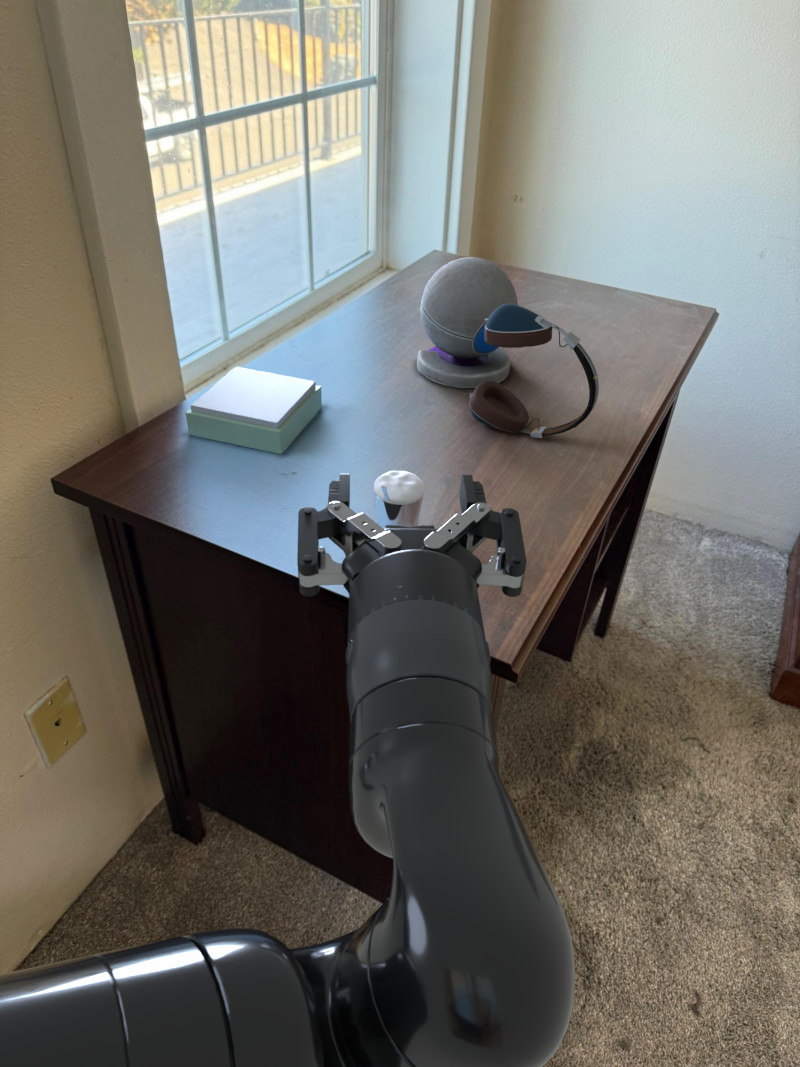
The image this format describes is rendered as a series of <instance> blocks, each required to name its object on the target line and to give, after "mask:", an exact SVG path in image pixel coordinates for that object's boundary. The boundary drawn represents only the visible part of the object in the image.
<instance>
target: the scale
mask: <svg viewBox="0 0 800 1067" xmlns="http://www.w3.org/2000/svg"><path fill="white" fill-rule="evenodd" d="M322 400H323V398H322V386H321V385H317V383H316V380H311V379H305V378H301V377H300V378H299V377H295V376H289V375H284V374H279V373H273V372H267V371H262V370H257V369H252V368H247V367H242V366H234V367H233V368H231V370H230V371H228V372H227V373H226V374H225V375H224V376H222V377H221V378H219V380H218V381H217V382H216V383H214V384H213V385H212V386H211V387H210V388H209V389H207V391H205V392H204V393H203V394H201V395H200V396H199V397H198V398H197V399H196V400H195V401H193V403H191V404H190V408H189V409H188V410H186V411H185V418H186V424H187V433H188V435H189V436H194V437H198V438H203V439H207V440H211V441H212V440H213V441H217V442H221V443H225V444H226V443H227V444H230V445H237V446H241V447H245V448H249V449H255V450H257V451H258V450H259V451H263V452H267V453H268V452H269V453H272V454H277V455H282V454H283V453H284V452H285V451H286V450H287V448H288V447H289V446H290V445H291V444H292V443H293V441H294V440H295V439H296V438H297V437H298V436H299V435H300V433H301V432H302V431H303V430H304V429H305V427H306V426H307V425H308V424H309V423H310V422H311V421H312V419H313V418H314V417H315V416H316V415H317V414H318V413H319V411H320V410H321V409H322V408H323V403H322Z"/></svg>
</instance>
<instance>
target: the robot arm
mask: <svg viewBox="0 0 800 1067" xmlns="http://www.w3.org/2000/svg"><path fill="white" fill-rule="evenodd" d="M327 496H328V500H327V505H326V506H325V508H323V509H321V510H317V509H316V508H315V507H312V506H304V507H302V508H300V509H299V510H298V514H297V515H298V518H297V519H298V520H297V557H296V558H297V559H296V562H297V577H298V589H299V590H298V591H299V593H300V595H301V596H303V597H306V598H310V597H314V596H316V595H318V594H319V592H320V586H341V585H342V586H343V588H344V590H346V592H347V593H348V616H347V618H348V619H347V645H346V649H345V655H344V656H345V658H344V659H345V664H346V678H345V679H346V680H345V682H346V684H345V685H346V697H347V703H348V711H349V723H350V724H349V749H348V750H349V753H348V793H349V805H350V806H349V807H350V813H351V818H352V820H353V824H354V826H355V829H356V831H357V833H358V834H359V835H360V837H361V838H362V840H363V841H364V842H365V843H366V844H367V845H368V846H369V847H370V848H371V849H372V850H374V851H376V852H377V853H379V854H381V855H382V856H385V857H387V858H390V859H392V878H391V879H392V880H391V888H390V895H389V897H388V898H387V899H386V900H385V901H384V902H383V903H382V904H381V906H379V907H378V908H377V909H376V910H375V911H374V912H373V913H372V914H371V915H370V916H369V917H368V919H366V920H365V922H363V923H362V925H360V926H359V927H358V928H356V929H354V930H353V931H350V932H349V933H346V934H343V935H341V936H338V937H336V938H333V939H330V940H327V941H324V942H321V943H317V944H312V945H307V946H302V947H295V948H288V946H287V945H286V944H284V942H282V941H281V940H280V939H278V938H277V937H276V936H274V935H271V934H269V933H268V932H265V931H263V930H261V929H256V928H255V929H254V928H251V927H249V928H247V927H241V928H240V927H239V928H238V927H232V928H231V927H230V928H222V929H214V930H206V931H199V932H196V933H191V934H187V935H186V934H185V935H183V936H180V935H179V936H175V937H171V938H165V939H160V940H156V941H151V942H146V943H141V944H136V945H132V946H131V945H130V946H127V947H123V948H117V949H112V950H109V951H102V952H99V953H94V954H87V955H84V956H78V957H75V958H71V959H70V958H69V959H65V960H61V961H56V962H52V963H47V964H43V965H42V964H41V965H38V966H33V967H29V968H28V967H27V968H23V969H19V970H14V971H10V972H5V973H4V972H3V973H0V1067H544V1066H545V1065H546V1063H548V1061H549V1060H551V1059H552V1057H553V1056H554V1055H555V1053H556V1052H557V1051H558V1049H559V1047H560V1045H561V1044H562V1042H563V1039H564V1037H565V1036H566V1033H567V1030H568V1028H569V1025H570V1022H571V1016H572V1013H573V1012H572V1011H573V1007H574V998H575V990H576V989H575V985H576V984H575V982H576V964H575V951H574V945H573V939H572V934H571V929H570V926H569V922H568V919H567V916H566V912H565V910H564V907H563V905H562V901H561V899H560V897H559V895H558V893H557V890H556V888H555V886H554V884H553V881H552V880H551V877H550V875H549V874H548V871H547V870H546V866H545V865H544V863H543V861H542V859H541V857H540V855H539V853H538V851H537V848H536V846H535V844H534V843H533V840H532V838H531V836H530V834H529V831H528V829H527V827H526V824H525V822H524V820H523V818H522V816H521V814H520V812H519V809H518V808H517V806H516V804H515V802H514V800H513V799H512V797H511V795H510V793H509V791H508V789H507V786H506V784H505V782H504V779H503V769H502V762H501V755H500V754H501V753H500V748H499V741H498V737H497V729H496V724H495V718H494V710H493V677H492V669H491V661H492V657H491V656H492V655H491V652H490V646H489V642H488V641H487V638H486V632H485V627H484V621H483V620H484V619H483V614H482V609H481V603H480V597H479V592H478V589H479V588H480V586H492V587H500V588H501V593H502V594H504V596H507V597H510V598H515V597H519V596H520V595H521V594H522V590H523V585H524V580H525V574H526V567H527V556H526V549H525V544H524V538H523V531H522V524H521V519H520V513H519V512H518V510H516V509H515V508H512V507H507V508H503V509H501V510H500V512H499V511H495V510H492V509H491V507H490V505H489V504H488V503H487V499H486V495H485V491H484V486H483V484H482V483H481V482H480V480H479V481H477V480H476V481H475V480H474V478H473V474H467V473H466V474H463V473H462V474H461V478H460V487H459V504H460V505H459V506H460V510H461V511H460V512H461V514H460V513H458V512H457V513H455V514H454V515H453V516H452V517H450V519H449V520H448V521H446V523H444V524H443V525H442V526H441V527H440V528H439V529H438V528H435V525H427V524H426V525H424V524H423V525H418V526H416V527H405V526H399V525H386V528H385V529H383V528H382V527H381V526H379V525H378V524H377V521H375V520H373V519H372V518H370V517H369V516H368V515H367V514H366V513H364V512H359V513H356V512H355V511H354V510H353V509H352V508H350V507H351V473H342V472H341V473H339V479H332V480H331V481H330V483H329V484H328V495H327ZM323 539H329V540H330V541H331V542H332V543H333V544H335V545H336V546H337V547H338V548H339V549H340V550H342V551H343V553H344V556H345V557H344V558H343V560H342V563H339V562H336V561H334V560H333V559H332V555H331V554H330V553H328V552H326V548H325V547H324V546H320V545H319V544H320V543H319V541H320V540H323ZM487 539H489V540H493V541H495V543H496V553H493V554H492V555H491V556H490V560H489V561H488V562H486V563H482V561H481V560H480V559H479V557H478V556H476V555H475V554H474V552H475V551H476V550H477V549H478V548H479V547H480V546H481V545H482V544H483V543H484V542H485V541H486V540H487Z"/></svg>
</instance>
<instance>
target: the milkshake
mask: <svg viewBox="0 0 800 1067" xmlns="http://www.w3.org/2000/svg"><path fill="white" fill-rule="evenodd" d="M425 488H426V487H425V484H424V482H423V481H422V480H421V479H420V478H419V476H418V475H416V474H415V473H412V472H410V471H406V470H389V471H386V472H385V473H383V474H380V475H379V476H378V477H377V478H376V480H374V483H373V494H374V503H375V504H374V505H375V513H376V523H377V524H378V525H379V526H381V527H382V528H383V529H385V528H386V525H399V526H405V527H416V526H419V522H420V516H421V511H422V510H421V509H422V505H423V500H424V494H425V491H426V490H425Z"/></svg>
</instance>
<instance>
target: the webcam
mask: <svg viewBox="0 0 800 1067" xmlns="http://www.w3.org/2000/svg"><path fill="white" fill-rule="evenodd" d="M420 301H421V302H420V310H419V311H420V320H421V324H422V327H423V330H424V332H425V334H426V336H427V338H428V339H429V340H430V341H431V343H432V344H433V345H434V347H431V348H429V349H420V350H419V351H418V354H417V359H416V368H417V370H418V371H419V373H420V374H421V373H423V374H421V375H422V376H423V377H425V378H426V379H428V380H430V381H432V382H434V383H436V384H439V385H443V386H447V387H451V388H454V387H456V388H458V389H476V387H477V386H478V385H479V384H481V383H483V382H485V381H494V382H496V383H499V384H500V383H501V382H502V381H505V379H506V378H507V377H508V376H509V374H510V367H511V361H510V356H509V355H508V353H507V352H506V351H505V350H504V349H503V348H502V347H497V346H492V345H489V344H487V343H486V342H485V325H486V322H487V321H485V319H487V318H489V316H490V315H491V313H492V312H493V311H494V310H495V309H496V308H497V307H499V306H501V305H503V304H515V305H518V306H519V302H518V296H517V292H516V289H515V286H514V284H513V282H512V280H511V279H510V277H509V276H508V275H507V273H506V272H505V271H504V270H503V269H502V268H501V267H500V266H498V265H497V264H496V263H494V262H492V261H490V260H488V259H485V258H480V257H474V256H468V257H461V258H457V259H453V260H450V261H447V262H446V263H444V264H443V265H442V266H440V267H439V268H438V269H437V270H435V271H434V273H433V274H431V276H430V277H429V279H428V280H427V282H426V284H425V286H424V288H423V292H422V296H421V300H420ZM424 374H425V375H424ZM426 375H428V376H426ZM429 376H430V377H429ZM431 377H433V378H431ZM434 378H435V379H434ZM436 379H438V380H436ZM439 380H440V381H439ZM441 381H442V382H441ZM443 382H444V383H443ZM445 383H446V384H445ZM447 384H448V385H447ZM450 385H451V386H450ZM452 386H453V387H452Z"/></svg>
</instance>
